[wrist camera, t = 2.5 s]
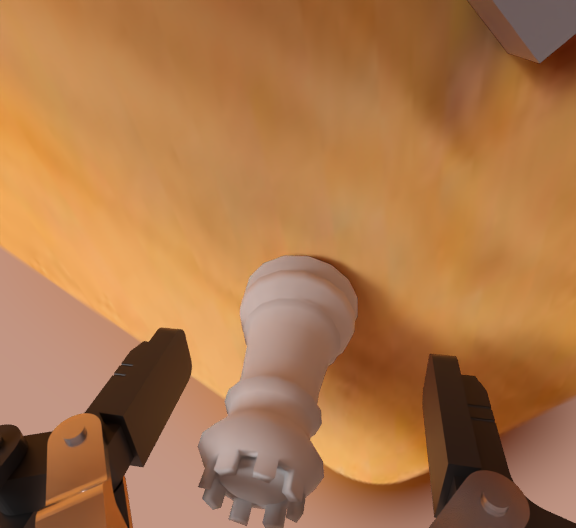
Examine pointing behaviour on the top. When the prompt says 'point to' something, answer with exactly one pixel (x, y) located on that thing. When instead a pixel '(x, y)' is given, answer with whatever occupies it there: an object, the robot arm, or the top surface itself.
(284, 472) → the rook chess piece
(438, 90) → the top surface
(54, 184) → the top surface
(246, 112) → the top surface
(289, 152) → the top surface
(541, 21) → the grey holder tray
